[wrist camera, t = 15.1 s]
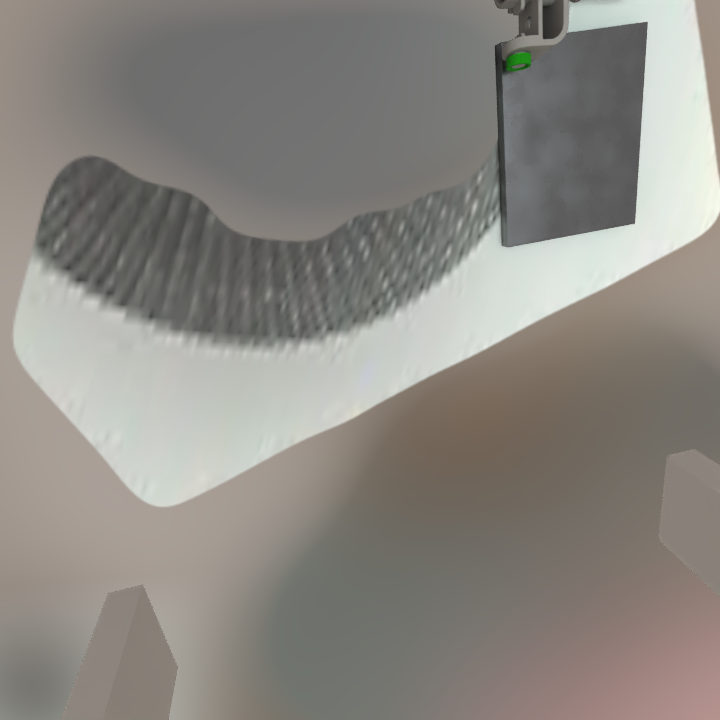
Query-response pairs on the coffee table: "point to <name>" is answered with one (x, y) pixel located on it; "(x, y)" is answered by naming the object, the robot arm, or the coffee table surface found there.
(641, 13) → the coffee table surface
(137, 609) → the robot arm
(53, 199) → the coffee table surface
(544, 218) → the plate
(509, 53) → the mechanical component
